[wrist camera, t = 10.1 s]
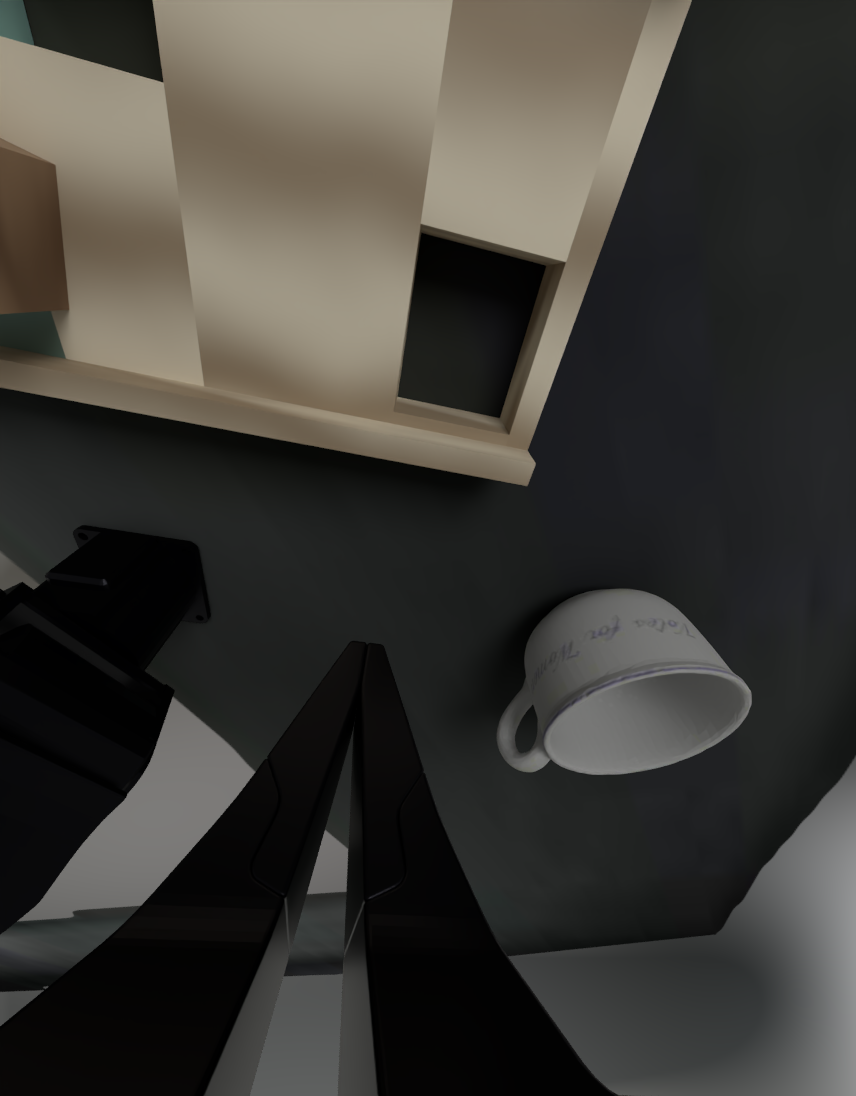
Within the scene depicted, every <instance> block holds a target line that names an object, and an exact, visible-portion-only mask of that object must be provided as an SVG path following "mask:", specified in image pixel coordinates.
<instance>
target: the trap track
mask: <svg viewBox="0 0 856 1096" xmlns="http://www.w3.org/2000/svg"><path fill="white" fill-rule="evenodd" d="M691 1H692V0H153V7H154V14H155V22H156V29H157V37H158V44H159V51H160V59H161V66H162V74H163V81H164V83H163V82H159V81H156V80H152V79H149V78H145V77H142V76H138V75H135V74H131V73H128V72H124V71H121V70H117V69H114V68H110V67H107V66H103V65H100V64H96V63H93V62H89V61H86V60H82V59H79V58H75V57H72V56H68V55H65V54H61V53H58V52H54V51H51V50H47V49H44V48H40V47H37V46H34V42H33V38H32V34H31V30H30V27H29V23H28V19H27V15H26V11H25V7H24V3H23V0H0V138H2V139H4V140H6V141H8V142H10V143H12V144H14V145H16V146H18V147H20V148H22V149H24V150H26V151H28V152H30V153H32V154H34V155H36V156H38V157H40V158H42V159H44V160H47V161H49V162H51V163H53V164H55V165H56V175H57V186H58V196H59V206H60V217H61V227H62V237H63V248H64V258H65V269H66V279H67V289H68V300H69V310H57V311H42V312H26V313H11V314H0V387H1V388H6V389H12V390H17V391H22V392H28V393H33V394H38V395H44V396H49V397H54V398H60V399H65V400H70V401H76V402H81V403H86V404H92V405H97V406H102V407H108V408H113V409H118V410H124V411H129V412H134V413H140V414H145V415H151V416H156V417H161V418H167V419H172V420H177V421H183V422H188V423H193V424H199V425H204V426H209V427H215V428H220V429H225V430H231V431H236V432H241V433H247V434H252V435H257V436H263V437H268V438H273V439H279V440H284V441H289V442H295V443H300V444H305V445H311V446H316V447H321V448H327V449H332V450H338V451H343V452H348V453H354V454H359V455H364V456H370V457H375V458H380V459H386V460H391V461H396V462H402V463H407V464H412V465H418V466H423V467H428V468H434V469H439V470H444V471H450V472H455V473H460V474H466V475H471V476H476V477H482V478H487V479H492V480H498V481H503V482H508V483H514V484H519V485H525V486H527V485H528V483H529V480H530V478H531V475H532V472H533V470H534V467H535V465H536V463H535V462H534V460H533V459H532V457H531V455H530V454H529V452H528V448H529V445H530V442H531V440H532V437H533V434H534V431H535V429H536V426H537V423H538V420H539V418H540V415H541V412H542V410H543V407H544V404H545V401H546V399H547V396H548V393H549V390H550V388H551V385H552V382H553V379H554V377H555V374H556V371H557V368H558V366H559V363H560V360H561V357H562V355H563V352H564V349H565V346H566V344H567V341H568V338H569V335H570V333H571V330H572V327H573V325H574V322H575V319H576V316H577V314H578V311H579V308H580V305H581V303H582V300H583V297H584V294H585V292H586V289H587V286H588V283H589V281H590V278H591V275H592V272H593V270H594V267H595V264H596V261H597V259H598V256H599V253H600V250H601V248H602V245H603V242H604V240H605V237H606V234H607V231H608V229H609V226H610V223H611V220H612V218H613V215H614V212H615V209H616V207H617V204H618V201H619V198H620V196H621V193H622V190H623V187H624V185H625V182H626V179H627V176H628V174H629V171H630V168H631V165H632V163H633V160H634V157H635V155H636V152H637V149H638V146H639V144H640V141H641V138H642V135H643V133H644V130H645V127H646V124H647V122H648V119H649V116H650V113H651V111H652V108H653V105H654V102H655V100H656V97H657V94H658V91H659V89H660V86H661V83H662V80H663V78H664V75H665V72H666V69H667V67H668V64H669V61H670V59H671V56H672V53H673V50H674V48H675V45H676V42H677V39H678V37H679V34H680V31H681V28H682V26H683V23H684V20H685V17H686V15H687V12H688V9H689V6H690V4H691ZM421 233H424V234H428V235H432V236H435V237H439V238H443V239H447V240H451V241H454V242H458V243H462V244H466V245H470V246H474V247H477V248H481V249H485V250H489V251H493V252H496V253H500V254H504V255H508V256H512V257H516V258H519V259H523V260H527V261H531V262H535V263H538V264H542V265H546V269H545V272H544V275H543V279H542V282H541V285H540V288H539V292H538V295H537V298H536V301H535V305H534V308H533V311H532V315H531V318H530V321H529V324H528V328H527V331H526V334H525V338H524V341H523V344H522V347H521V351H520V354H519V357H518V360H517V364H516V367H515V370H514V374H513V377H512V380H511V383H510V387H509V390H508V393H507V396H506V400H505V403H504V406H503V410H502V413H501V416H500V418H496V417H492V416H487V415H482V414H477V413H472V412H468V411H463V410H458V409H453V408H448V407H443V406H439V405H434V404H429V403H424V402H419V401H415V400H410V399H405V398H400V397H397V396H398V389H399V382H400V375H401V369H402V362H403V355H404V348H405V341H406V334H407V328H408V321H409V314H410V307H411V300H412V293H413V287H414V280H415V273H416V266H417V259H418V252H419V245H420V239H421Z"/></svg>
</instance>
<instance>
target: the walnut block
mask: <svg viewBox="0 0 856 1096" xmlns="http://www.w3.org/2000/svg"><path fill="white" fill-rule="evenodd" d="M57 310H69V300H68V289H67V279H66V269H65V258H64V248H63V237H62V227H61V217H60V206H59V196H58V186H57V175H56V165H55V164H53V163H51V162H49V161H47V160H44V159H42V158H40V157H38V156H36V155H34V154H32V153H30V152H28V151H26V150H24V149H22V148H20V147H18V146H16V145H14V144H12V143H10V142H8V141H6V140H4V139H2V138H0V314H11V313H26V312H42V311H57Z"/></svg>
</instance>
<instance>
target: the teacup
mask: <svg viewBox="0 0 856 1096" xmlns="http://www.w3.org/2000/svg"><path fill="white" fill-rule="evenodd" d="M524 661H525V672H526V678H525V681H524V684H523V687H522V689H521V690H520V691H519V692H518V693H517V695H516V696H515V697H514V698H513V700H512V701H511V702H510V704H509V705H508V707H507V708H506V710H505V711H504V713H503V715H502V717H501V719H500V722H499V725H498V729H497V744H498V747H499V750H500V752H501V754H502V756H503V758H504V759H505V760H506V762H507V763H508V764H509V765H511V766H512V767H514V768H516V769H517V770H520V771H524V772H535V771H537V770H539V769H541V768H543V767H544V766H545V765H546V764H547V763H548V761H549V760H550V759H552V760H553V761H554V762H555V763H556V764H558V765H560V766H562V767H564V768H566V769H569V770H572V771H577V772H581V773H586V774H593V775H597V774H599V775H605V774H625V773H632V772H639V771H644V770H650V769H654V768H659V767H662V766H666V765H670V764H673V763H676V762H678V761H681V760H683V759H686V758H689V757H691V756H694V755H696V754H698V753H700V752H702V751H704V750H705V749H707V748H709V747H711V746H713V745H715V744H717V743H718V742H720V741H721V740H723V739H724V738H725V737H727V736H728V735H730V734H731V733H732V732H733V731H734V730H735V729H736V728H738V726H739V725H740V724H741V723H742V722H743V720H744V719H745V718H746V716H747V714H748V712H749V709H750V706H751V691H750V689H749V688H748V686H747V685H746V684H745V682H744V681H743V680H742V679H741V678H740V677H739V676H737V675H735V674H734V673H733V672H732V671H731V670H730V669H729V667H728V666H727V665H726V664H725V662H724V661H723V660H722V659H721V657H720V656H719V655H718V654H717V652H716V651H715V650H714V649H713V647H712V646H711V645H710V644H709V643H708V642H707V640H706V639H705V638H704V637H703V636H702V635H701V633H700V632H699V631H698V630H697V629H696V628H695V626H694V625H693V624H692V623H691V622H690V621H689V620H688V619H687V618H686V617H685V616H684V615H683V614H682V613H681V612H680V611H679V610H678V609H676V608H675V607H674V606H673V605H671V604H670V603H668V602H667V601H665V600H664V599H662V598H660V597H658V596H656V595H653V594H650V593H647V592H643V591H639V590H633V589H607V590H595V591H590V592H585V593H582V594H579V595H576V596H574V597H572V598H569V599H568V600H566V601H564V602H562V603H561V604H559V605H558V606H557V607H555V608H554V609H553V610H552V611H551V612H550V613H549V614H548V615H547V616H545V617H544V618H543V619H542V620H541V621H540V623H539V624H538V625H537V626H536V628H535V629H534V630H533V632H532V634H531V635H530V638H529V640H528V643H527V645H526V650H525V658H524ZM532 705H534V708H535V711H536V715H537V718H538V733H537V738H536V741H535V743H534V745H533V747H532V748H531V749H530V750H529V751H528V752H525V753H520V752H519V751H518V750H517V748H516V745H515V733H516V729H517V727H518V725H519V723H520V721H521V719H522V717H523V716H524V714H525V713H526V711H527V710H528V709H529V708H530V707H531V706H532Z"/></svg>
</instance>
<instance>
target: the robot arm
mask: <svg viewBox="0 0 856 1096" xmlns="http://www.w3.org/2000/svg"><path fill="white" fill-rule="evenodd" d="M73 535H74V538H75V540H76V543H77V545H78V548H79V549H78V550H76V551H75V552H74V553H72V554H71V555H70V556H68V557H67V558H66V559H65V560H63V561H62V562H61V563H59V564H58V565H57V566H55V567H54V568H53V569H51V570H50V571H49V572H48V573H46V575H45V577H46V579H47V580H46V581H45V582H43V583H42V584H41V585H39V586H38V587H37V588H36V589H34V590H33V589H32V588H30V587H29V586H27V585H26V584H25V583H23V582H21V583H19V584H17V585H15V586H12V587H10V588H8V589H6V590H4V591H3V590H1V589H0V934H1V933H3V932H4V931H6V930H7V929H8V928H9V927H11V926H12V925H13V924H14V923H15V922H17V921H18V920H19V919H20V918H22V917H23V916H24V915H25V914H26V913H28V912H29V911H30V910H31V909H32V908H34V907H35V906H36V905H37V904H38V903H39V902H40V901H41V899H42V898H43V896H44V895H45V894H46V892H47V891H48V890H49V888H50V887H51V886H52V884H53V883H54V881H55V880H56V878H57V877H58V876H59V874H60V873H61V872H62V870H63V869H64V867H65V866H66V865H67V863H68V862H69V861H70V859H71V858H72V857H73V855H74V854H75V853H76V851H77V850H78V849H79V847H80V846H81V845H82V843H83V842H84V841H85V840H86V839H87V838H88V837H89V835H90V834H91V833H92V832H93V831H94V830H95V829H96V827H97V826H98V825H99V824H100V823H101V822H102V821H103V820H104V819H105V818H106V817H107V816H108V815H109V814H110V813H111V812H112V811H113V810H114V809H115V808H116V807H117V806H118V805H119V804H121V803H122V802H123V801H124V799H125V798H126V796H127V794H128V793H129V791H130V790H131V789H132V788H133V787H134V786H135V784H136V783H137V782H138V780H139V779H140V777H141V776H142V775H143V773H144V771H145V769H146V768H147V766H148V764H149V762H150V760H151V758H152V755H153V752H154V749H155V746H156V744H157V741H158V738H159V735H160V732H161V729H162V726H163V723H164V720H165V717H166V715H167V712H168V708H169V705H170V703H171V700H172V697H173V694H174V691H175V690H174V689H172V688H171V687H170V686H168V685H167V684H166V685H163V684H162V683H161V682H159V681H158V680H156V679H155V678H154V677H152V676H151V675H149V674H148V673H146V672H145V669H146V668H147V667H148V665H149V664H150V662H151V661H152V660H153V658H154V657H155V656H156V654H157V653H158V652H159V650H160V649H161V647H162V646H163V645H164V643H165V642H166V641H167V639H168V638H169V636H170V635H171V634H172V632H173V631H174V630H175V628H176V627H177V626H178V624H179V623H180V621H188V622H196V623H206V622H207V621H208V619H209V618H210V615H211V614H210V609H209V604H208V598H207V593H206V587H205V582H204V577H203V571H202V566H201V560H200V555H199V550H198V547H197V546H196V545H195V544H194V543H192V542H190V541H185V540H178V539H171V538H165V537H158V536H152V535H145V534H139V533H132V532H125V531H119V530H112V529H106V528H99V527H92V526H86V525H82V526H80V527H78V528H77V529H75V530H74V532H73ZM186 549H188V550H189V551H188V550H186ZM366 647H367V648H366ZM365 653H366V654H365ZM364 660H365V661H364ZM363 666H364V667H363ZM362 672H363V673H362ZM361 678H362V679H361ZM359 691H360V692H359ZM358 697H359V698H358ZM357 703H358V704H357ZM356 709H357V710H356ZM355 716H356V717H355ZM354 721H355V724H354ZM353 727H354V733H353V752H352V776H351V799H350V823H349V846H348V869H347V871H348V872H347V893H346V916H345V939H344V956H345V957H344V962H343V986H342V1010H341V1032H340V1055H339V1079H338V1080H339V1081H338V1096H624V1095H617V1094H615V1093H614V1092H612V1091H610V1090H609V1089H608V1088H606V1087H605V1086H604V1085H603V1084H602V1083H601V1082H600V1081H599V1080H598V1079H597V1078H595V1076H594V1075H593V1074H592V1073H591V1071H590V1070H589V1069H588V1068H587V1067H586V1065H585V1064H584V1063H583V1062H582V1060H581V1059H580V1058H579V1056H578V1055H577V1053H576V1052H575V1050H574V1049H573V1048H572V1046H571V1045H570V1043H569V1042H568V1041H567V1039H566V1038H565V1036H564V1035H563V1034H562V1033H561V1031H560V1029H559V1028H558V1027H557V1025H556V1024H555V1022H554V1021H553V1020H552V1018H551V1017H550V1016H549V1014H548V1013H547V1011H546V1010H545V1008H544V1007H543V1006H542V1004H541V1003H540V1002H539V1000H538V998H537V997H536V996H535V994H534V993H533V991H532V990H531V989H530V987H529V986H528V985H527V983H526V982H525V980H524V979H523V978H522V976H521V975H520V973H519V972H518V971H517V969H516V968H515V967H514V965H513V963H512V962H511V961H510V959H509V958H508V956H507V955H506V954H505V952H504V951H503V949H502V947H501V946H500V944H499V942H498V941H497V939H496V937H495V935H494V934H493V932H492V930H491V928H490V926H489V924H488V922H487V920H486V918H485V916H484V914H483V912H482V910H481V908H480V906H479V904H478V901H477V899H476V897H475V895H474V892H473V890H472V888H471V886H470V884H469V881H468V879H467V877H466V875H465V873H464V870H463V868H462V866H461V864H460V861H459V859H458V857H457V855H456V853H455V850H454V848H453V846H452V844H451V841H450V839H449V837H448V834H447V832H446V829H445V827H444V825H443V822H442V820H441V817H440V815H439V812H438V810H437V807H436V804H435V801H434V798H433V795H432V793H431V790H430V787H429V784H428V781H427V778H426V774H425V773H423V771H424V769H423V766H422V763H421V759H420V756H419V753H418V750H417V747H416V744H415V741H414V738H413V735H412V732H411V729H410V725H409V722H408V719H407V716H406V713H405V710H404V707H403V704H402V701H401V698H400V695H399V691H398V688H397V685H396V682H395V679H394V676H393V673H392V670H391V667H390V664H389V661H388V657H387V654H386V651H385V648H384V646H383V645H381V644H375V643H369V644H366V643H365V642H359V641H351V642H350V643H349V644H348V646H347V647H346V648H345V650H344V651H343V652H342V654H341V655H340V657H339V658H338V659H337V661H336V662H335V663H334V665H333V666H332V668H331V669H330V670H329V672H328V673H327V675H326V676H325V677H324V679H323V680H322V681H321V683H320V684H319V686H318V687H317V688H316V690H315V691H314V692H313V694H312V695H311V697H310V698H309V699H308V701H307V702H306V704H305V705H304V706H303V708H302V709H301V710H300V712H299V713H298V715H297V716H296V717H295V719H294V720H293V721H292V723H291V724H290V726H289V727H288V728H287V730H286V731H285V733H284V734H283V735H282V737H281V738H280V739H279V741H278V742H277V744H276V745H275V746H274V748H273V749H272V751H271V752H270V753H269V755H268V756H267V758H268V759H265V760H264V761H263V763H262V764H261V765H260V767H259V768H258V770H257V771H256V772H255V774H254V775H253V776H252V778H251V779H250V780H249V782H248V783H247V784H246V786H245V787H244V788H243V790H242V791H241V792H240V793H239V795H238V796H237V797H236V799H235V800H234V801H233V802H232V803H231V805H230V806H229V807H228V808H227V809H226V811H225V812H224V813H223V814H222V815H221V816H220V818H219V819H218V820H217V821H216V822H215V824H214V825H213V826H212V827H211V828H210V829H209V830H208V832H207V833H206V834H205V835H204V836H203V837H202V838H201V839H200V841H199V842H198V843H197V844H196V845H195V846H194V847H193V848H192V850H191V851H190V852H189V853H188V854H187V855H186V856H185V858H184V859H183V860H182V861H181V862H180V863H179V864H178V865H177V867H176V868H175V869H174V870H173V871H172V872H171V873H170V874H169V876H168V877H167V878H166V879H165V880H164V881H163V882H162V883H161V885H160V886H159V887H158V888H157V889H156V890H155V892H154V893H153V894H152V895H151V896H150V897H149V898H148V899H147V900H146V901H145V902H144V903H143V905H141V907H140V908H139V909H138V910H137V911H136V912H135V913H134V914H133V915H132V916H131V917H130V918H129V919H128V920H127V921H126V922H125V923H124V924H123V925H122V926H121V927H119V928H118V929H117V930H116V931H115V932H114V933H113V934H112V935H111V936H110V937H109V938H107V939H106V940H105V941H104V942H103V943H102V944H100V945H99V946H98V947H97V948H95V949H94V950H93V951H92V952H91V953H89V954H88V955H87V956H86V957H84V958H83V959H82V960H81V961H80V962H78V963H77V964H76V965H75V966H73V967H72V968H71V969H70V970H69V971H67V972H66V973H65V974H64V975H62V976H61V977H60V978H59V979H58V980H56V981H55V982H54V983H53V984H51V985H50V986H49V987H48V988H47V989H45V990H44V991H43V992H42V993H40V994H39V995H38V996H37V997H36V998H34V999H33V1000H32V1001H31V1002H29V1003H28V1004H27V1005H26V1006H25V1007H23V1008H22V1009H21V1010H20V1011H18V1012H17V1013H16V1014H15V1015H14V1016H12V1017H11V1018H10V1019H9V1020H8V1021H6V1022H5V1023H4V1024H3V1025H2V1026H0V1096H249V1095H250V1092H251V1089H252V1085H253V1081H254V1078H255V1074H256V1071H257V1067H258V1063H259V1060H260V1057H261V1053H262V1050H263V1046H264V1043H265V1039H266V1036H267V1032H268V1028H269V1025H270V1021H271V1018H272V1014H273V1011H274V1007H275V1004H276V1000H277V997H278V993H279V990H280V986H281V983H282V979H283V976H284V972H285V969H286V965H287V962H288V955H289V954H290V951H291V947H292V944H293V940H294V937H295V933H296V930H297V926H298V923H299V919H300V916H301V912H302V908H303V905H304V901H305V898H306V894H307V891H308V887H309V884H310V880H311V876H312V873H313V870H314V866H315V863H316V859H317V856H318V852H319V848H320V845H321V841H322V838H323V834H324V831H325V827H326V824H327V820H328V817H329V813H330V810H331V806H332V803H333V799H334V796H335V792H336V788H337V785H338V781H339V778H340V774H341V771H342V767H343V764H344V760H345V757H346V753H347V750H348V746H349V743H350V739H351V735H352V731H353ZM625 1096H627V1095H625Z"/></svg>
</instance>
